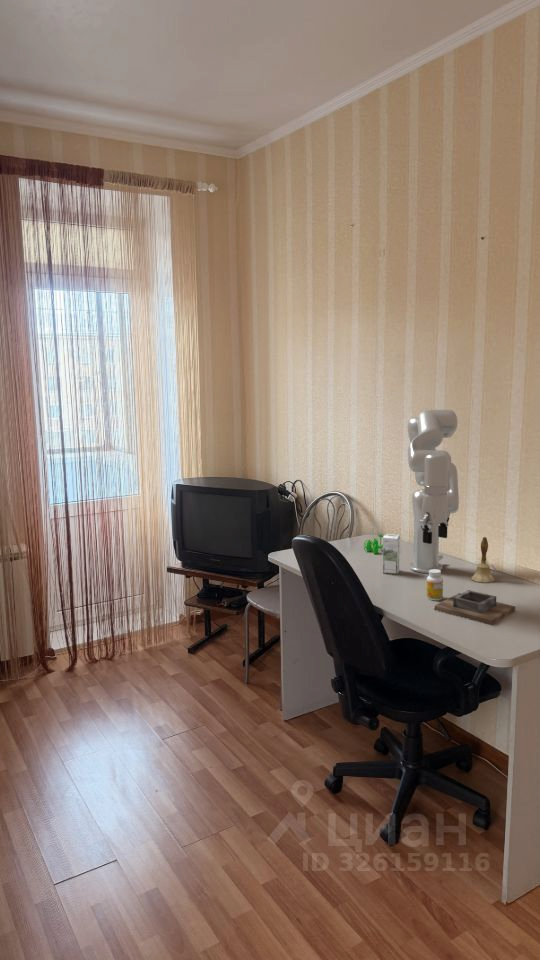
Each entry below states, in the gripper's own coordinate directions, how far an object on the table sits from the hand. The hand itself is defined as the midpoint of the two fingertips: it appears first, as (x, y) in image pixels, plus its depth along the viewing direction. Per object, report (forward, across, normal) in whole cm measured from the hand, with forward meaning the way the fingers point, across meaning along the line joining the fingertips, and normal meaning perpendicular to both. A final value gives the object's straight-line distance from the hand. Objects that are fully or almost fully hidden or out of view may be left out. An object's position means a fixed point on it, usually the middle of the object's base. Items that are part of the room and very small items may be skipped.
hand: (435, 540), depth 235 cm
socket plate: (+21, +2, +16) cm, 26 cm away
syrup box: (+20, -15, -28) cm, 38 cm away
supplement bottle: (+21, 0, 0) cm, 21 cm away
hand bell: (+21, -29, +3) cm, 36 cm away
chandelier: (+20, -37, -49) cm, 65 cm away
